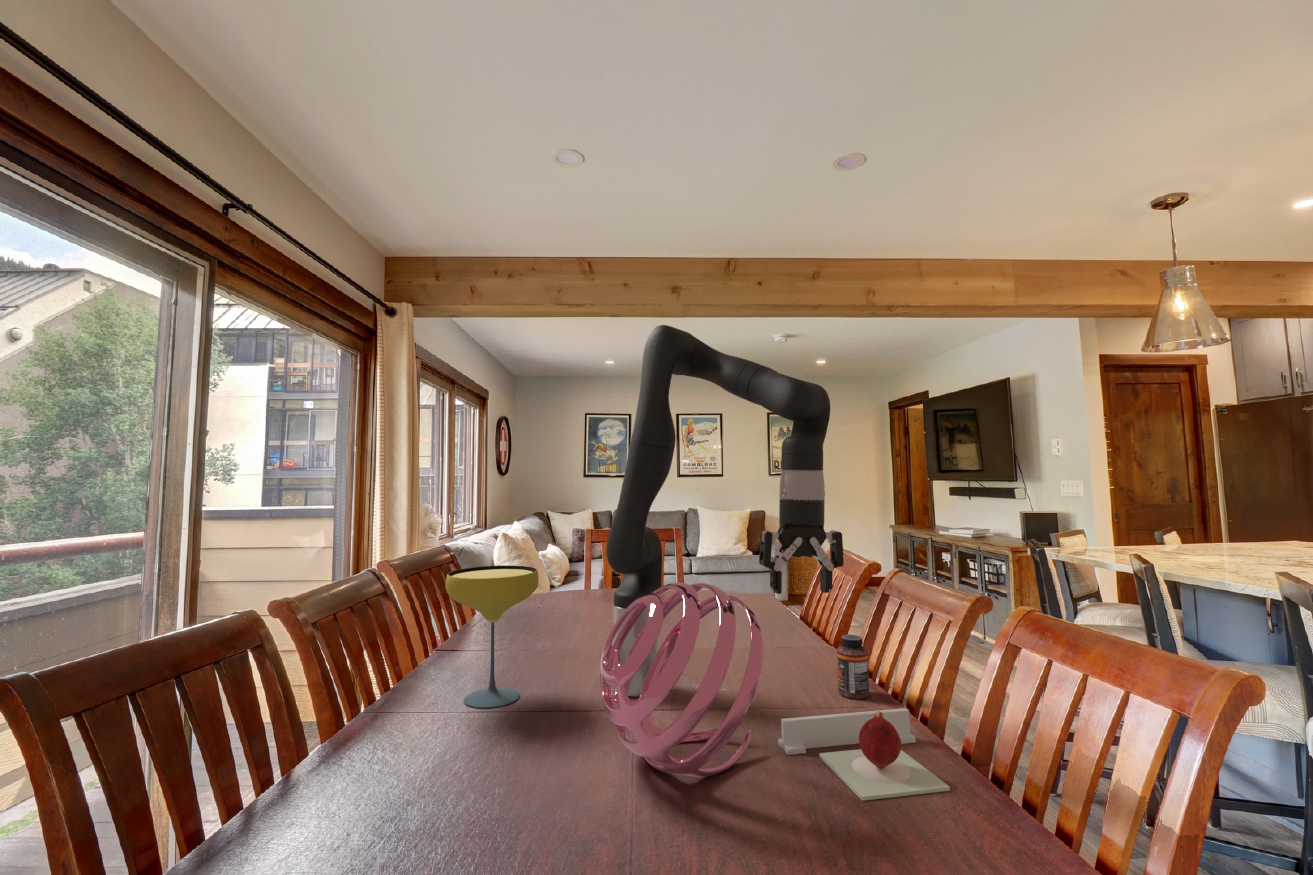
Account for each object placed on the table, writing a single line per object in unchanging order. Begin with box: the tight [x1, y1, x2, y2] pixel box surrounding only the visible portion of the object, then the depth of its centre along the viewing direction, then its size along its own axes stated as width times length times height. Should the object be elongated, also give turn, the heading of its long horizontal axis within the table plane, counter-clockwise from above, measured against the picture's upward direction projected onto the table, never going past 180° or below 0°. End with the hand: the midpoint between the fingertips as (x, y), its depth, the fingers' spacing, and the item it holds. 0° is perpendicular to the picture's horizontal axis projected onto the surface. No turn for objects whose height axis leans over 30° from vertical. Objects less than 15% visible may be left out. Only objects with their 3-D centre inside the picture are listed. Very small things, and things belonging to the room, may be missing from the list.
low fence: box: [777, 707, 917, 756], centre depth 97 cm, size 22×4×4 cm, turn 100°
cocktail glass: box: [445, 565, 539, 710], centre depth 119 cm, size 18×18×25 cm
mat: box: [818, 748, 951, 802], centre depth 87 cm, size 13×13×1 cm
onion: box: [859, 710, 902, 769], centre depth 87 cm, size 6×6×8 cm
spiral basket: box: [599, 582, 765, 778], centre depth 93 cm, size 28×28×27 cm
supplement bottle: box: [836, 634, 870, 700], centre depth 119 cm, size 6×6×11 cm
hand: (801, 592), depth 101 cm, fingers open, 8 cm apart
